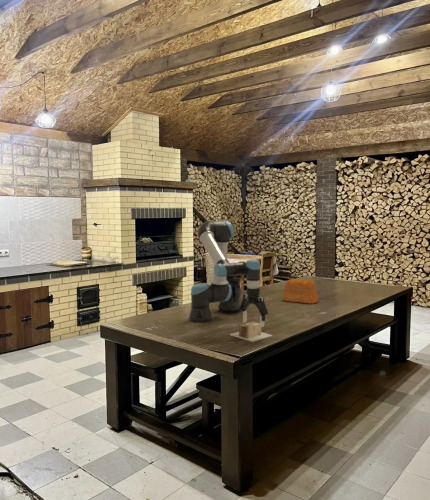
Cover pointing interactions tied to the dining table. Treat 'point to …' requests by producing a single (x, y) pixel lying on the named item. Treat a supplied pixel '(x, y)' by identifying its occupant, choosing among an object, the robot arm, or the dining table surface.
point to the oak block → (249, 330)
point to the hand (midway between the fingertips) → (253, 324)
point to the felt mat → (254, 338)
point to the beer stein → (232, 298)
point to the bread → (300, 291)
